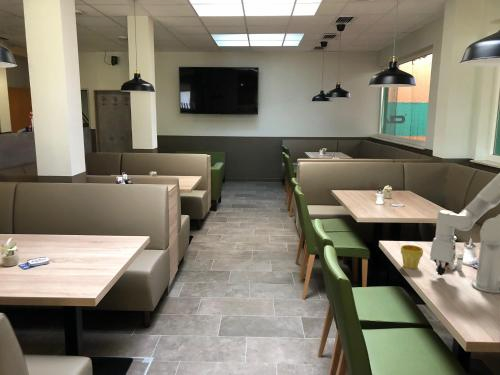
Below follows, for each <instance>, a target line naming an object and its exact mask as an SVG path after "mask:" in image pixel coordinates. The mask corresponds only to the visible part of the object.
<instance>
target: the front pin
mask: <svg viewBox="0 0 500 375" xmlns="http://www.w3.org/2000/svg"><path fill="white" fill-rule="evenodd" d="M456 267H457V260H455V261H454V265H450V266H449V268H448V269H449V271H454V270H456Z"/></svg>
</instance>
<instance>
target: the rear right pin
mask: <svg viewBox="0 0 500 375" xmlns="http://www.w3.org/2000/svg"><path fill="white" fill-rule="evenodd" d="M456 257H457V258H456V261H457V267H456V268H455V270H456V272H457V271H458V272H462V269H463V263H464V253H461V252H458V253H457V256H456Z"/></svg>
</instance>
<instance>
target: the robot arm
mask: <svg viewBox="0 0 500 375" xmlns="http://www.w3.org/2000/svg"><path fill="white" fill-rule="evenodd" d="M499 204H500V172H499V173H498V174H496V176H494V178H492V180H491V181H489V182H488V183H487V184H486V185H485V187H483V188H482V189H481V190H480V191H479V192H478V193H477V195H476V196H475V197H474V198H473V199H472V200H471V201H470V202H469V203H468V204H467V205H466V206H465V207H464V208H463V209H462V210H461V211H460V212H459V213H458V214H457V213H456V212H454V211H452V210H447V209H445V210H444V209H442V210H438V212H437V217H436V218H437V219H436V226H435V227H436V229H435V237H433V240H432V244H431V248H430V255H429V257H430V258H429V260H431V261H432V262H434V263H435V265H436V264H437V266H438V267H437V266H436V268H437V269H436V272H437V276H442V275H444V274H446V269H445V267H446V266H448V265H454V263H455V262H456V259H457V258H456V257H457V256H456V255H457V254H456V253H457V246H456V240H457V238H458V237H456V236H455V230H457V231H460V232H461V231H463V232H467V231H471V229H473V227H474V225H475V223H476V222H477V221H478V220H479V219H480V218H481V217H482V216H484V214H485V213H487V212H488V211H489V210H491V209H494V208H495V207H497V206H498V205H499ZM479 237H480V245H479V253H478V260H477V269H476V277H475V279H474V280H472V281H471V286H472V287H473V288H475V289H476V290H479V291H481V292H485V293H490V294H500V213H499V214H498V215H496V216H495V217H490V218H488V219H486V220H485V221H484V222H483V224H482V226H481V229H480V231H479ZM441 261H443V263H442V265H441Z"/></svg>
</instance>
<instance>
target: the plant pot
mask: <svg viewBox="0 0 500 375" xmlns="http://www.w3.org/2000/svg"><path fill="white" fill-rule="evenodd" d="M400 254H401V256H402V265H403V267H405V268H406V269H412V270H414V269H418V267H419V263H420V262H421V261H420V260H421V258H422V257H423V255H424V249H423V248H422V247H421V246H418V245H414V244H412V245H411V244H405V245H404V244H403V245H402V246H401V247H400Z"/></svg>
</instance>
